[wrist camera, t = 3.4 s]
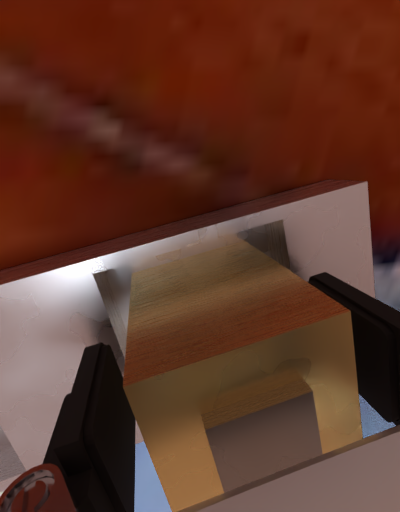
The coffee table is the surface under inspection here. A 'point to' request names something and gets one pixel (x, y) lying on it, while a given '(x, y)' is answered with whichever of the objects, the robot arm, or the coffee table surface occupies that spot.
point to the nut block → (236, 371)
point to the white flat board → (119, 285)
